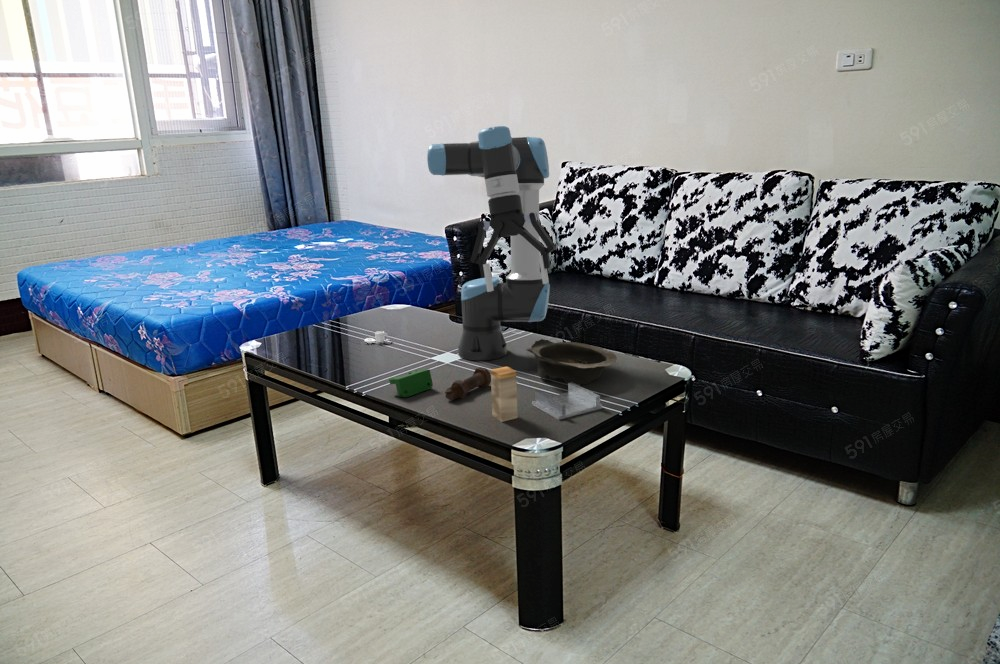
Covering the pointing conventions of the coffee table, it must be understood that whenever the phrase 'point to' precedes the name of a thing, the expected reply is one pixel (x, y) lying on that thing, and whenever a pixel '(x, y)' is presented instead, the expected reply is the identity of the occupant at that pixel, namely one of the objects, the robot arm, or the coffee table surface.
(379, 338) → the teacup and saucer
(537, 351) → the stone bowl
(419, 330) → the coffee table surface
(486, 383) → the bolt
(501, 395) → the block
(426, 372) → the green notched mounting bracket
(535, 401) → the keeper bracket
